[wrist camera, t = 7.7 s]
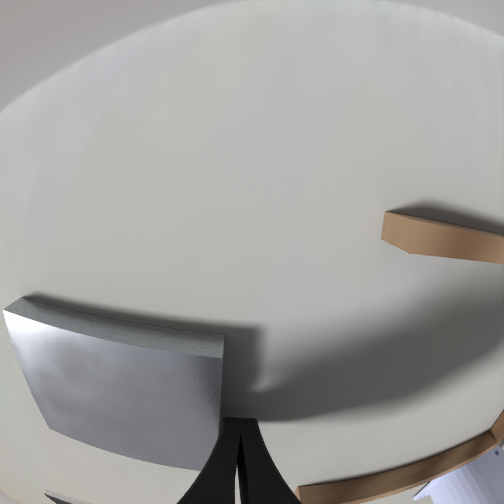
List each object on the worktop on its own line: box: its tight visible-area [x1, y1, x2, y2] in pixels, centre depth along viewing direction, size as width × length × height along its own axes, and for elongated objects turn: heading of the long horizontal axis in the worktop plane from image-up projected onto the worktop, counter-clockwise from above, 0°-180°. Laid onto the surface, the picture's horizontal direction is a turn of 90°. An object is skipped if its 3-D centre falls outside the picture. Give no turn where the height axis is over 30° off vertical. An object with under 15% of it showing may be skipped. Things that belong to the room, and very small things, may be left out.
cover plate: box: [3, 297, 225, 471], centre depth 10 cm, size 10×8×2 cm
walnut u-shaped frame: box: [295, 212, 504, 504], centre depth 11 cm, size 21×19×2 cm
